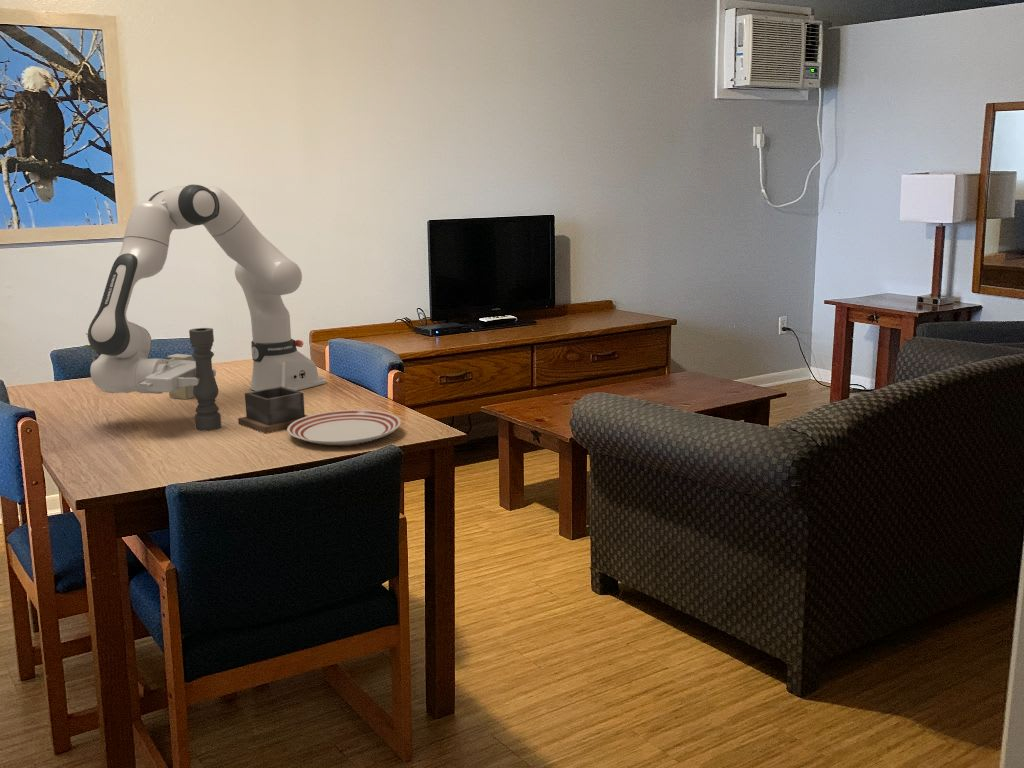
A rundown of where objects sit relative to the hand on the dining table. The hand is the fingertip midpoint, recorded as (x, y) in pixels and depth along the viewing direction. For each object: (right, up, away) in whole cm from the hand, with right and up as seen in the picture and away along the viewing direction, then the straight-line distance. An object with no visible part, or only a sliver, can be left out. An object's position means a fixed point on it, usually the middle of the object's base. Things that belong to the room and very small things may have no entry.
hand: (206, 377), depth 252 cm
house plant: (-50, 0, +63) cm, 81 cm away
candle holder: (0, -13, +3) cm, 13 cm away
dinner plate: (+36, -15, -5) cm, 39 cm away
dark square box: (+16, -12, +6) cm, 21 cm away
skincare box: (-18, -6, +36) cm, 40 cm away
